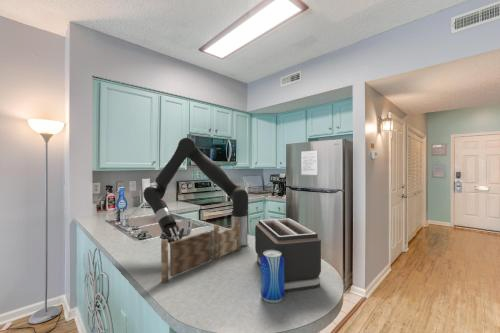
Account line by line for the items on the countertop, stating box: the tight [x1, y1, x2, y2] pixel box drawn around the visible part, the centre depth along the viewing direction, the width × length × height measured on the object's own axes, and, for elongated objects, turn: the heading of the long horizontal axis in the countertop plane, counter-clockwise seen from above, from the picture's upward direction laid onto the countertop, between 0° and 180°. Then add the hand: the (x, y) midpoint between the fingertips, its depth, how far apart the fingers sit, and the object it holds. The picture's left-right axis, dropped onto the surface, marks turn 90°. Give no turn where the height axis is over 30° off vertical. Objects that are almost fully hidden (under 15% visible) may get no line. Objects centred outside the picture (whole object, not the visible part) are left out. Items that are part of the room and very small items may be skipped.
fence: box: [160, 219, 241, 284], centre depth 114 cm, size 47×3×17 cm, turn 141°
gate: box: [169, 229, 214, 278], centre depth 109 cm, size 24×2×14 cm, turn 141°
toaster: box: [254, 217, 322, 293], centre depth 107 cm, size 19×35×20 cm, turn 14°
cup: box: [179, 217, 193, 236], centre depth 163 cm, size 8×8×10 cm
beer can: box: [260, 250, 285, 304], centre depth 85 cm, size 8×8×16 cm
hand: (179, 248), depth 112 cm, fingers closed
